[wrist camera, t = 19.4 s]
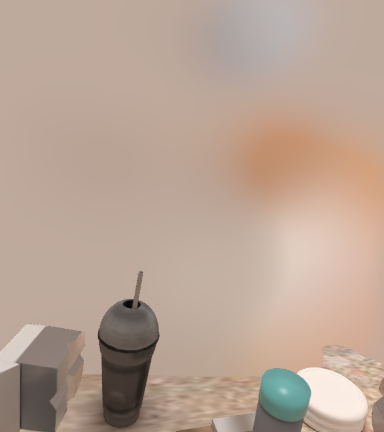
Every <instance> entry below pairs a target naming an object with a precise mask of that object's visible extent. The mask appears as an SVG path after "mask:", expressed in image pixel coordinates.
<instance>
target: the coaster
mask: <svg viewBox="0 0 384 432" xmlns="http://www.w3.org/2000/svg"><path fill="white" fill-rule="evenodd" d="M297 375H299V376H300V377H302V378H303V379H304V380H305V381H306V382H307V383H308V385H309V386H310V389H311V397H310V401H309V405H308V409H307V413H306V415H305V417H304V420H303V421H304V422H305V423H306V424H307V425H309V426H310V427H311V428H313V429H315V430H316V431H318V432H361V431H362V429H363V427H364V423H365V420H366V416H367V414H368V403H367V400H366V398H365V396H364V394H363V393H362V392H361V390H360V389H359V388H358V387H357V386H356V385H355V384H354V383H352V382H351V381H350V380H348V379H347V378H345V377H344V376H342V375H340V374H338V373H336V372H333V371H330V370H327V369H323V368H306V369H302V370H301V371H299V372H298V373H297Z"/></svg>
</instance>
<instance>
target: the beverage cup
mask: <svg viewBox="0 0 384 432" xmlns="http://www.w3.org/2000/svg"><path fill="white" fill-rule="evenodd" d="M142 276H143V272H142V271H140V272H139V273H138V279H137V285H136V290H135V296H134V299H127V300H122V301H120V302H118V303H116V304H114V305H113V306H112V307H111V308H110V309H109V310H108V311H107V312H106V314H105V315H104V317H103V319H102V321H101V325H100V329H99V331H98V339H99V346H100V351H101V354H102V394H103V410H104V418H105V420H106V421H107V422H108V423H109V424H110V425H112V426H115V427H126V426H128V425H131V424H132V423H134V422H135V421H136V420H137V418H138V416H139V411H140V408H141V405H142V401H143V396H144V391H145V387H146V382H147V377H148V373H149V368H150V363H151V358H152V355H153V353H154V350H155V347H156V344H157V342H158V339H159V329H158V323H157V319H156V316H155V314H154V312H153V311H152V309H151V308H150V307H149V306H148V305H146V304H145V303H143V302H142V301H139V300H138V298H139V293H140V288H141V282H142Z"/></svg>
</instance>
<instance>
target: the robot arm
mask: <svg viewBox="0 0 384 432" xmlns="http://www.w3.org/2000/svg"><path fill="white" fill-rule="evenodd" d="M84 343H85V335H84V333H83V332H81V331H75V330H69V329H63V328H57V327H51V326H45V325H38V324H31V323H30V324H26V325H25V326H24V327H23V328H22V330H20V331H19V333H18V334H17V335H16V336H15V337H14V338H13V339H12V340H11V341H10V342H9V343H8V344H7V345H6V346H5V347H4V348H3V349H2V350H1V351H0V432H19V431H20V429H26V430H34V431H42V432H56V430H57V429H58V427H59V425H60V423H61V421H62V419H63V417H64V415H65V413H66V411H67V401H69V400H70V399H72V398H73V397H74V396H75V394H76V392H77V389H78V387H79V384H80V381H81V377H82V371H83V363H84V360H83V359H82V357H81V356H80V353H81V351H82V349H83V348H84V345H85V344H84ZM379 390H380V392H381V395H382V398H380V399H379V400H378V401H376V402H375V403H374V407H373V411H372V426H373V430H374V432H384V379H383V380H382V381H381V384H380V387H379Z"/></svg>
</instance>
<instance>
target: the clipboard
mask: <svg viewBox="0 0 384 432" xmlns="http://www.w3.org/2000/svg"><path fill="white" fill-rule="evenodd" d="M255 415H256V413H250V414H244V415H237V416H230V417H223V418H217V419H212V424H211V426H206V427H200V428H193V429H187V430H180V431H176V432H252V429H253V424H254V420H255Z"/></svg>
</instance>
